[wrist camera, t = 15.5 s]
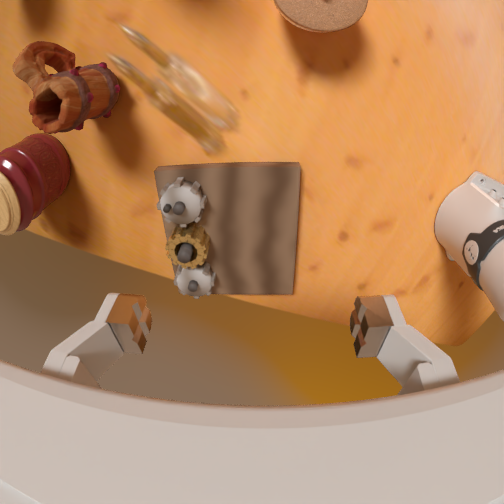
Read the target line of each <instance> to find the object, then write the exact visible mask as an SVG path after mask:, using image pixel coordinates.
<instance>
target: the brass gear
mask: <svg viewBox="0 0 504 504" xmlns="http://www.w3.org/2000/svg"><path fill="white" fill-rule="evenodd" d="M209 238H210V236H209V234H208V233H206V234H205V232H204V228H203V227H202V226H200V227H197V226H195V223H192V222H191V223H190V225H187V227H180V226H179V228H178V227H177V226H176V227H175V228H174V229H173V231H172V233H171V235H170V237H169V240H168V242H167V244H166V250H168V252H167V256H168V258H172V259H173V262H172V263H174V264H175V265H177V264H179V265H182V268H185V269H186V268H187V267H191V268H192V269H194V268H197V265H198V264H199V265H202V264H203V263H204V261H205V259H206V258H207V254H208V250H209V246H210V242H209ZM181 242H188V243H190V244H192V245H193V246H194V247H195V249H193V252H192V255H191V258H190V261H189V262H188V263H181V262H179V261H178V259H177V255H178V253H179V250H180V247H181V245H182V243H181Z"/></svg>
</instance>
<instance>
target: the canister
mask: <svg viewBox="0 0 504 504" xmlns="http://www.w3.org/2000/svg"><path fill="white" fill-rule="evenodd" d="M69 179H70V162H69V158H68V155H67V153H66V151H65V149H64V147H63V146H62V144H61V143H60V142H59V141H58V140H57V139H56V138H55V137H53V136H51V135H49V134H46V133H38V134H33V135H30V136H28V137H26V138H24V139H23V140H22V141H21V142H19V143H17V144H15V145H13V146H12V147H9V148H6V149H4V150H3V151H1V152H0V234H2V235H11V234H13V233H14V232H16V231H22V230H24V229H26V228H27V227H28V226H29V224H30V223H31V221H32V220H33V219H35V218H37V217H38V216H39V215H40V214H41V212H42V211H43V210H44V209H45V208H46V207H47V206H48V205H49V204H50V203H51V202H53V201H55V200H56V199H57V198H58V197H59V196H60V195H61V194H62V193H63V192H64V190H65V188H66V187H67V185H68V182H69Z"/></svg>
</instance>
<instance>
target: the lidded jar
mask: <svg viewBox="0 0 504 504" xmlns="http://www.w3.org/2000/svg"><path fill="white" fill-rule="evenodd" d="M274 3H275V5H276V8H277V9H278V11H279V12H280V14H281V15H282V16H283V17H284V18H285V19H286V20H287V21H289V22H290V23H291V24H293V25H295V26H297V27H299V28H301V29H304V30H307V31H312V32H322V33H323V32H334V31H339V30H342V29H345V28H348V27H350V26H351V25H353V24H355V23H356V22H357V21H358V20H359V19H360V18H361V17H362V16H363V14H364V12H365V10H366V7H367V3H368V0H274Z"/></svg>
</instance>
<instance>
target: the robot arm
mask: <svg viewBox="0 0 504 504" xmlns="http://www.w3.org/2000/svg"><path fill="white" fill-rule="evenodd" d="M481 179H482V180H481ZM435 235H436V238H437V240H438V242H439V243H440V244H441V245H442V246H443V247H444V248H445V250H446V255H447V257H448V258H449V259H450V260H451V261H456V263H457V264H458V265H459V266H460V267H461V268H462V269H463V271H464V272H465V273H466V274H467V275H468V276H470V277H472V280H473V281H474V283H475V284H476V285H477V286H478V287H479V288H480V289H481V290H482V291H484V292H485V294H486V295H487V297H488V299H489V300H490V302H491V303H492V305H493V307H494V308H495V310H496V311H497V313H498V315H499V317H500V318H501V319H502V320H503V321H504V184H502V183H500V182H498V181H496V180H494V179H492V178H491V177H489V176H487V175H485V174H483V173H481V172H478V171H476V172H474V173H473V174H472V175H471V176H470V177H469V178H468V180H467V181H466V182H465V183H464V184H462V185H460V186H459V187H457V188H456V189H454V190H453V191H452V192H451V193H450V194H449V195H448V196H447V197H446V198H445V200H444V201H443V202H442V204H441V206H440V208H439V210H438V213H437V216H436V219H435ZM146 303H147V302H146V299H145V296H143V295H135V294H123V293H121V294H119V293H109V294H108V295H107V296H106V298H105V300H104V302H103V304H102V306H101V308H100V310H99V312H98V314H97V316H96V318H95V320H94V321H90V322H89V323H87V324H86V325H85V326H84V327H82V328H81V329H79V330H78V331H77V332H75V333H74V334H72V335H71V336H70V337H69V338H67V339H66V340H65V341H63V342H62V343H60V344H59V345H58V346H56V347H55V348H54V349H52V350H51V352H50V354H49V356H48V358H47V360H46V362H45V364H44V366H43V368H42V371H41V373H39V372H35V371H32V370H29V369H26V368H23V367H20V366H17V365H14V364H11V363H9V362H6V361H3V360H0V504H504V370H501V371H498V372H495V373H491V374H488V375H485V376H481V377H478V378H475V379H471V380H467V381H463V382H460V381H459V378H458V375H457V373H456V370H455V368H454V365H453V363H452V360H451V358H450V357H449V356H448V355H447V354H445V353H444V352H443V351H442V350H441V349H439V348H438V347H437V346H436V345H435V344H433V343H432V342H431V341H430V340H428V339H427V338H426V337H425V336H423V335H422V334H421V333H420V332H418V331H417V330H416V329H415V328H413V327H412V326H411V325H407V324H406V322H405V319H404V317H403V314H402V312H401V309H400V307H399V305H398V302H397V300H396V298H395V296H394V295H381V296H380V295H378V296H357V298H356V299H355V303H354V305H355V308H356V309H355V310H354V311H352V314H351V317H350V330H351V334H352V336H353V337H354V338H355V342H354V347H355V352H356V356H357V358H362V357H377V358H378V359H379V360H380V362H381V363H382V364H383V365H384V366H385V367H386V368H387V370H388V371H389V372H390V373H391V374H392V375H393V376H394V377H395V379H396V380H397V381H398V382H399V383H400V384H401V385H402V387H403V388H402V389H401V391H400V392H399V393H398V395H397V396H391V397H384V398H377V399H369V400H362V401H361V400H360V401H351V402H342V403H329V404H312V405H284V406H251V405H248V406H247V405H224V404H208V403H194V402H184V401H175V400H166V399H158V398H152V397H145V396H138V395H132V394H126V393H120V392H115V391H110V390H105V389H102V388H101V387H100V385H99V384H98V383H97V381H98V379H100V377H101V376H102V375H103V374H104V373H105V372H106V371H107V370H108V369H109V368H110V367H111V366H112V365H113V364H114V363H115V362H116V361H117V360H118V359H119V358H120V357H121V356H122V355H123V354H124V352H125V353H135V354H143V351H144V348H145V345H146V342H147V341H146V338H145V336H146V335H147V334H148V333H150V330H151V325H152V324H151V323H152V317H151V313H150V310H149V309H148V308H146V307H145V305H146Z"/></svg>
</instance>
